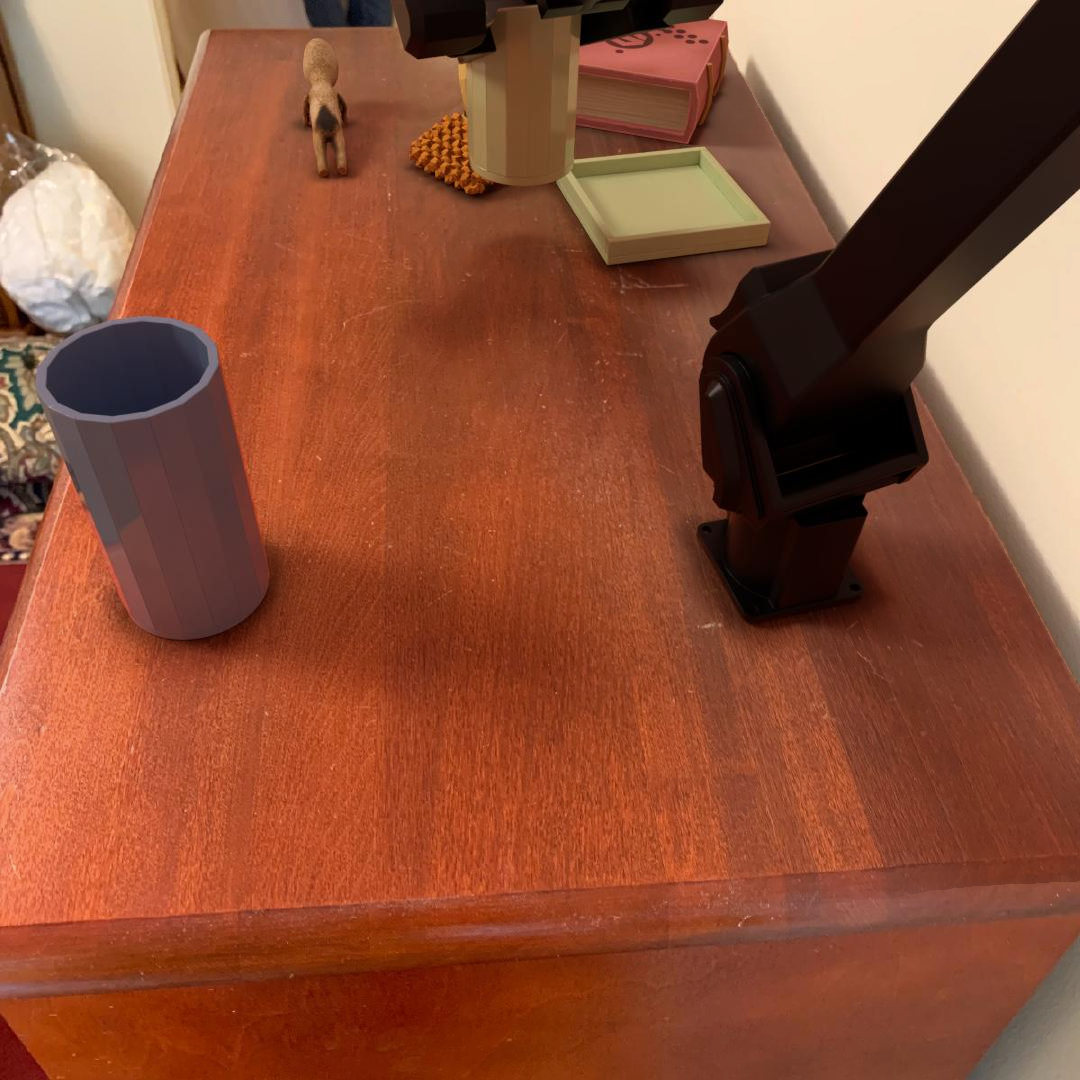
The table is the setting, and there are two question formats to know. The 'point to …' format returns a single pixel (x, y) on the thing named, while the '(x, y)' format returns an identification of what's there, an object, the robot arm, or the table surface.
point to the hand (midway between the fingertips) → (514, 47)
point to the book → (653, 80)
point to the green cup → (525, 99)
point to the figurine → (324, 104)
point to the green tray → (661, 205)
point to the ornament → (449, 149)
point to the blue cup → (159, 471)
